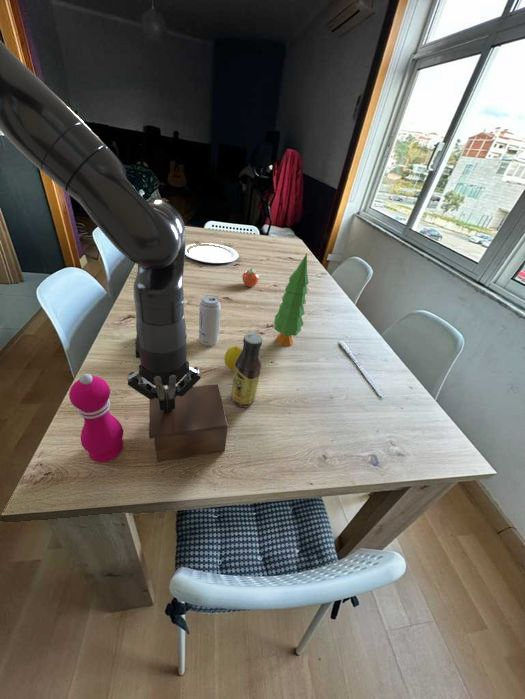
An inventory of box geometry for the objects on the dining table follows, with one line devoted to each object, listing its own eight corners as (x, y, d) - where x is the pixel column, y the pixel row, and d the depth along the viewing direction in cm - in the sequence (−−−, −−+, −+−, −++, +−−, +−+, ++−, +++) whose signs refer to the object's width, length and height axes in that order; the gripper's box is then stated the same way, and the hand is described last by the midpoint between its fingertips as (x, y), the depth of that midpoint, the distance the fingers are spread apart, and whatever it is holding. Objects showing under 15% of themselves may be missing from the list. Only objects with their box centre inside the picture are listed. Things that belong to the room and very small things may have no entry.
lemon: (236, 361, 87) (239, 339, 82) (246, 372, 83) (249, 350, 79) (220, 366, 84) (221, 343, 79) (229, 378, 80) (231, 355, 76)
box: (157, 462, 58) (154, 438, 53) (156, 417, 67) (153, 393, 62) (224, 451, 62) (227, 428, 58) (216, 410, 71) (217, 386, 66)
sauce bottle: (228, 392, 76) (234, 328, 64) (251, 389, 78) (261, 327, 66) (233, 411, 71) (242, 346, 60) (258, 408, 73) (270, 344, 62)
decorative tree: (300, 338, 102) (323, 253, 84) (294, 353, 94) (318, 263, 77) (273, 330, 103) (290, 245, 86) (266, 344, 96) (283, 254, 78)
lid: (149, 439, 53) (149, 436, 53) (149, 393, 62) (149, 390, 61) (227, 427, 58) (227, 425, 57) (217, 386, 66) (217, 384, 66)
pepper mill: (87, 437, 60) (61, 363, 48) (125, 430, 63) (110, 358, 51) (84, 469, 55) (54, 394, 43) (126, 459, 58) (109, 387, 46)
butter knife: (345, 340, 104) (338, 340, 103) (387, 396, 83) (378, 396, 82) (344, 341, 104) (337, 341, 103) (386, 397, 84) (377, 398, 83)
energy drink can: (197, 336, 94) (198, 294, 85) (216, 335, 96) (218, 294, 87) (200, 348, 89) (201, 304, 80) (220, 346, 91) (223, 304, 83)
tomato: (260, 285, 132) (263, 268, 127) (252, 290, 127) (255, 273, 122) (246, 280, 134) (248, 263, 130) (238, 285, 129) (239, 268, 124)
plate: (246, 254, 163) (246, 250, 162) (225, 270, 140) (225, 267, 139) (198, 242, 168) (198, 239, 167) (170, 256, 144) (170, 252, 143)
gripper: (200, 323, 52) (199, 392, 63) (119, 326, 48) (132, 398, 59) (206, 349, 47) (203, 419, 57) (115, 354, 43) (130, 429, 53)
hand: (167, 409), depth 58 cm, fingers closed
